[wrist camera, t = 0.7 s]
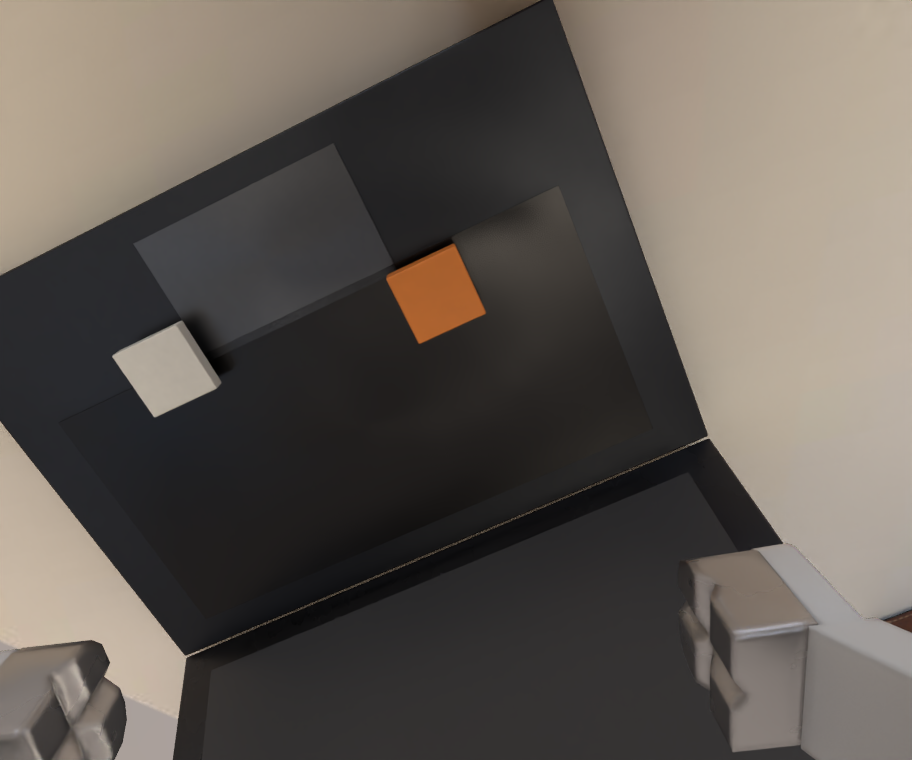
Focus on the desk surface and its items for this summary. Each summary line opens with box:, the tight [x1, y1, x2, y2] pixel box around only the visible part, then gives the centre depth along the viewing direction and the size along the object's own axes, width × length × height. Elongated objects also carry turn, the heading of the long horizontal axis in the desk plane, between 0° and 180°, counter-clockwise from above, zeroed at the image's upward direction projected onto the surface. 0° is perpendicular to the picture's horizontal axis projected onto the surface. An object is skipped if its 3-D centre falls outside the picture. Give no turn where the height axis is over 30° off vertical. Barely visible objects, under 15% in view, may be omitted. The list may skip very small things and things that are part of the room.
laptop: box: [0, 0, 708, 655], centre depth 32 cm, size 21×30×2 cm
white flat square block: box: [112, 321, 221, 417], centre depth 29 cm, size 3×3×1 cm
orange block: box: [386, 244, 486, 344], centre depth 28 cm, size 3×3×1 cm
